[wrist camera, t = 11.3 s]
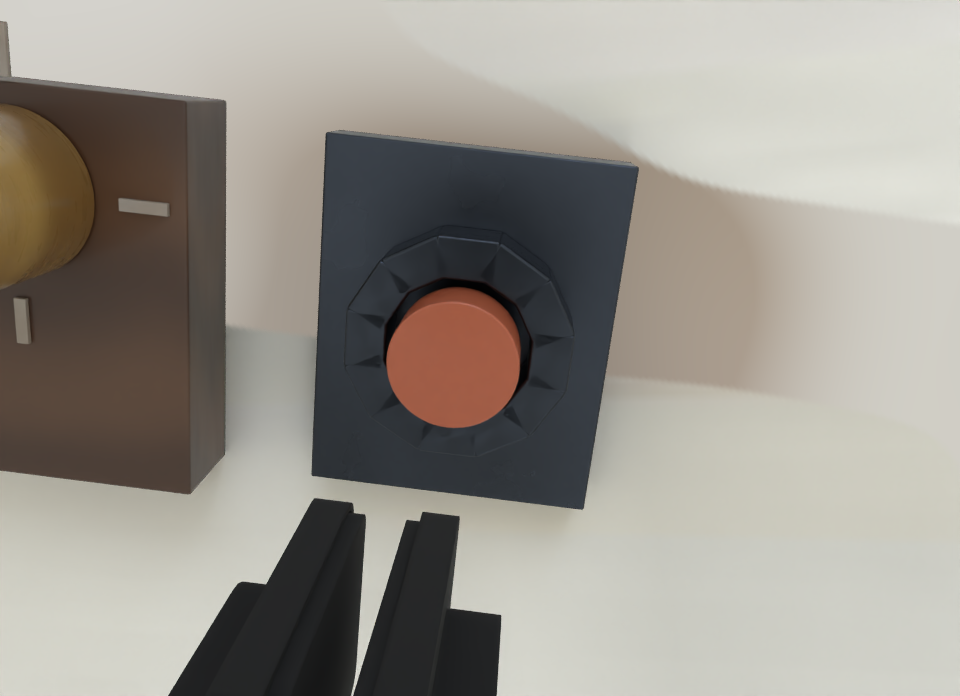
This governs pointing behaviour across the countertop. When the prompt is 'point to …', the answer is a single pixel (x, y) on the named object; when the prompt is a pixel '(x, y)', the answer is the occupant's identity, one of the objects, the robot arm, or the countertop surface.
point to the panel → (123, 298)
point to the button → (455, 358)
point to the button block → (477, 265)
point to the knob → (39, 197)
